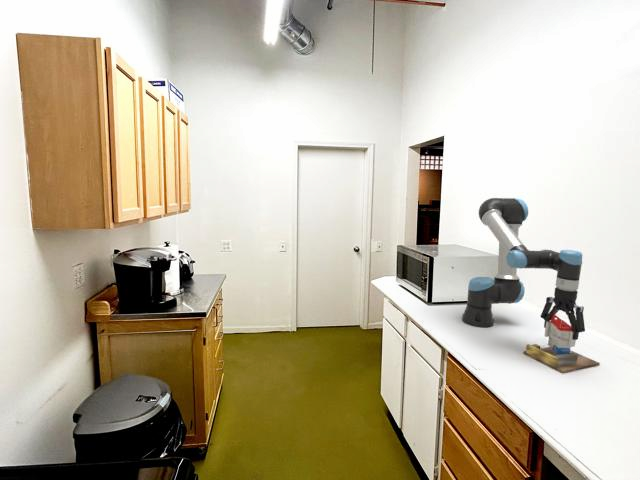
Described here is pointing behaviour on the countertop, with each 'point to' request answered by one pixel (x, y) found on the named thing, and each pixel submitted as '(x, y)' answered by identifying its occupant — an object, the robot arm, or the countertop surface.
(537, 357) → the board
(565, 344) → the ink box
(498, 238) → the robot arm
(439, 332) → the countertop surface
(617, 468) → the countertop surface
